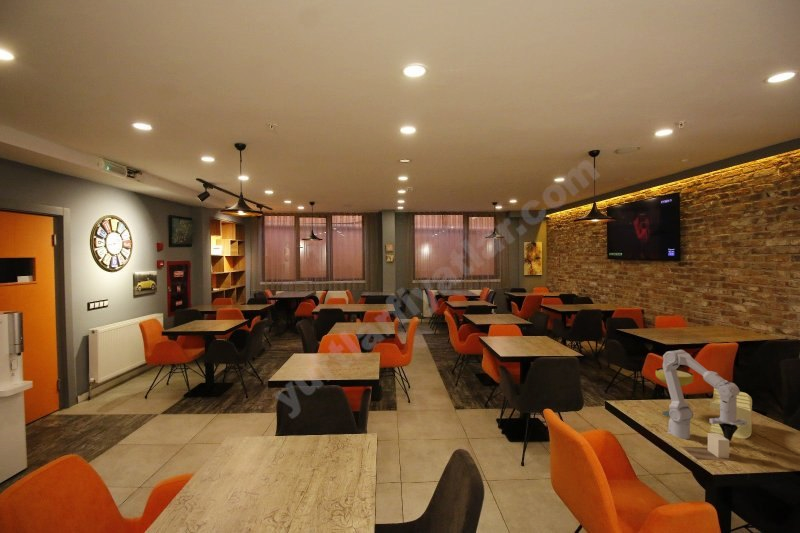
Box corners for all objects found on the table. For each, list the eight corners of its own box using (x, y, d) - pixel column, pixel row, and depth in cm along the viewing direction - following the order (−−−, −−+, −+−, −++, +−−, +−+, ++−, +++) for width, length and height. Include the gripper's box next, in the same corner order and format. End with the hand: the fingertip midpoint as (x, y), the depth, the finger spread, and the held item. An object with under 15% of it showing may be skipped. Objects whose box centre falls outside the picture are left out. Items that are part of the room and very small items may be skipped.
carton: (707, 450, 182) (707, 433, 182) (717, 450, 182) (718, 433, 182) (718, 457, 176) (718, 439, 175) (729, 458, 175) (729, 440, 175)
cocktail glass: (695, 424, 214) (696, 378, 214) (656, 417, 223) (656, 374, 223) (690, 412, 230) (691, 370, 230) (654, 407, 239) (654, 366, 239)
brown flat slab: (680, 449, 186) (680, 446, 186) (716, 451, 184) (717, 447, 184) (697, 462, 174) (697, 459, 174) (736, 464, 173) (736, 461, 172)
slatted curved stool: (751, 446, 189) (751, 410, 188) (709, 436, 199) (709, 402, 199) (751, 426, 211) (752, 393, 211) (713, 418, 222) (714, 387, 221)
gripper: (717, 413, 175) (716, 443, 175) (752, 414, 173) (752, 444, 174) (706, 407, 182) (706, 436, 182) (740, 408, 180) (739, 437, 181)
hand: (727, 439), depth 178 cm, fingers closed
